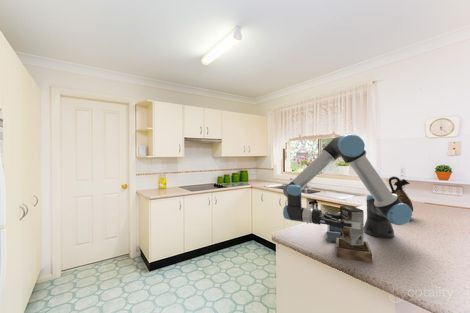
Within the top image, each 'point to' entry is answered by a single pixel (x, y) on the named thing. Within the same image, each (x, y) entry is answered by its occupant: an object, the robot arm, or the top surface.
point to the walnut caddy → (353, 251)
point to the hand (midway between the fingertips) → (361, 222)
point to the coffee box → (352, 234)
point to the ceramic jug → (401, 191)
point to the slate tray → (333, 233)
